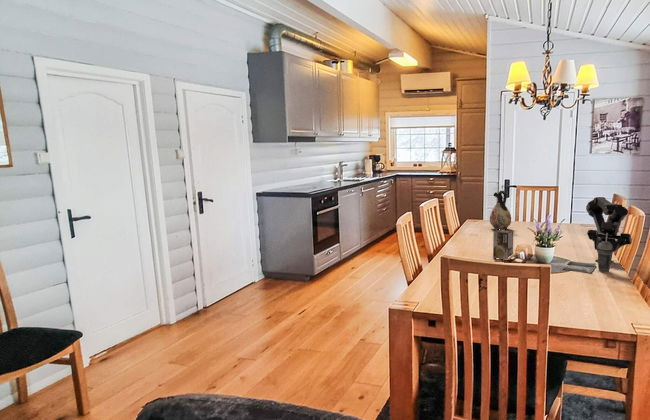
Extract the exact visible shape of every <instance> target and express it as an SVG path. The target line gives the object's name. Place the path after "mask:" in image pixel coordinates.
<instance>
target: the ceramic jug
mask: <svg viewBox="0 0 650 420" xmlns="http://www.w3.org/2000/svg"><path fill="white" fill-rule="evenodd" d="M493 196H494V198H497V202H496V204H495V205H494V206H493V208H492V210H491V212H490V216H489V224H490V225H491V226H492V227H493V229H494V230H495V229H500V230H504V231H506V230H508V227H509V226H510V225H511V224H512V215H511V212H510V210H509V208H508V207H507V205H506V203H507V199H508V194H507V192H506V191H505V190H499V191H498V192H496V191H495V192H494V193H493ZM505 229H506V230H505Z"/></svg>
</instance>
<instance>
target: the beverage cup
mask: <svg viewBox="0 0 650 420" xmlns="http://www.w3.org/2000/svg"><path fill="white" fill-rule="evenodd" d="M607 234H608V233H606V241H602V242H600V243H599V244H598V246H597V250H596V251H597V259H598V261H597V264H598V266H597V267H598V272H599V273H604V274H605V273H610V270H611V265H612V262H611V260H613V259H612V258H613V254H614V252H613V250H614V248H613V245H612V244H611V243H610V242H608V241H607Z"/></svg>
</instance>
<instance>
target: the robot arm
mask: <svg viewBox="0 0 650 420" xmlns="http://www.w3.org/2000/svg"><path fill="white" fill-rule="evenodd" d="M585 208H586V209H585V211H586V212H587V214H588V216H590V217H591V218H593V222H594V225H595V227H596V229H588V230H587V233H586V234H587V236H588V239H589V240H591V241H592V242H593V244H594V245H593V246H594V247H593V248H594V250H595V251H597V246H598V244H599V243H600V242H602V241H606V233H608V234H607V241H608V242H610V243H611V244H612V245H613V248H614V250H613V253H616V252H617V251H618V250H619V249H620V248H622V247H623V246H626V245H631V244H632V243H633V238H632V235H631V233H626V232H621V233H620V235H618V233H619V232H620V226H621V223H622V221H624V220H625V218H626V217H627V215H628V214H629V210H628V208H626V207H625V206H623V204H619V203H612V202H610V201H609V200H607V199H606V197H604V196H596V197H594V198H593V199H592V200H590V201H588V203H587V205H586V207H585ZM604 215H605V216H609V217H608V220H607V221H605V218H604ZM594 261H595V262H598V258H597V259H595V260H594ZM614 261H615V260H613V259H611V263H614Z"/></svg>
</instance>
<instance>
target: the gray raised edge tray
mask: <svg viewBox="0 0 650 420" xmlns="http://www.w3.org/2000/svg"><path fill="white" fill-rule="evenodd" d="M569 266H577V267H584V268H588V269H591V272H590V273H588V272H585V271H581V270H573V269H566V268H563V267H562V269H565V270H564V271H569V270H570V271H571V272H576V273H577V272H579V273H584V274H592V273H593V272H594V270H596V268H597V265H596V266H581V265H573V264H570V265H569Z"/></svg>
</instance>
